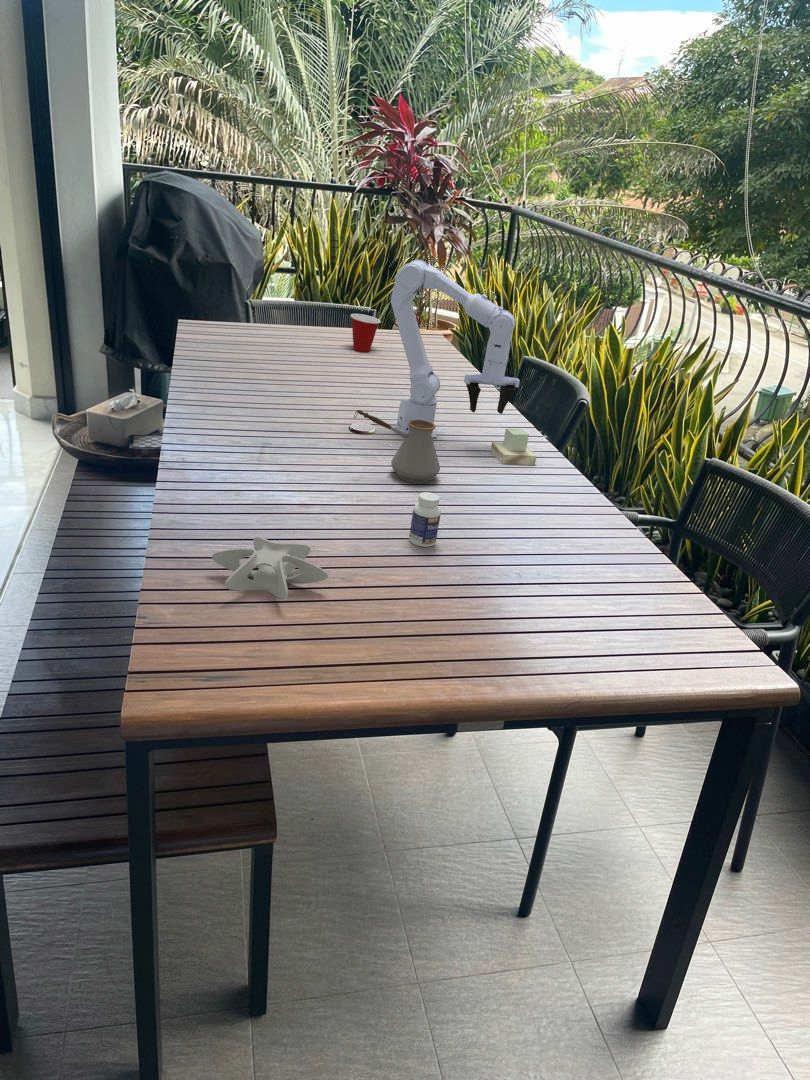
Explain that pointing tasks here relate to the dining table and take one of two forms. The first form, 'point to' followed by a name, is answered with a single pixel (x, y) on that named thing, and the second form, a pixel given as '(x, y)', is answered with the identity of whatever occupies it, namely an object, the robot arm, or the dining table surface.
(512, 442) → the sage cube
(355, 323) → the plastic cup
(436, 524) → the pill bottle
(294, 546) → the sculpture
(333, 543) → the dining table surface
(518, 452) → the beige block
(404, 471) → the coffee pot
